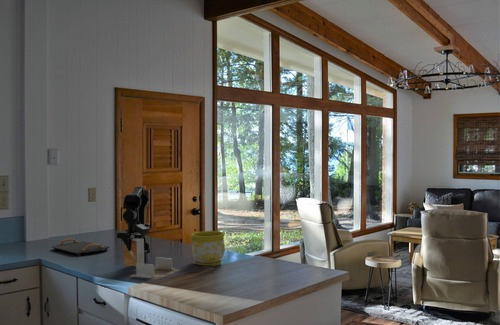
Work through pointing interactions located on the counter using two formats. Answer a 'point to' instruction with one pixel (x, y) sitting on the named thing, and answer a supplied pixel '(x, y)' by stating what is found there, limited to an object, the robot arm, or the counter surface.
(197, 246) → the flowerpot
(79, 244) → the serving board
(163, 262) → the bookends
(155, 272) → the shelf board
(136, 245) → the small box
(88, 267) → the counter surface
